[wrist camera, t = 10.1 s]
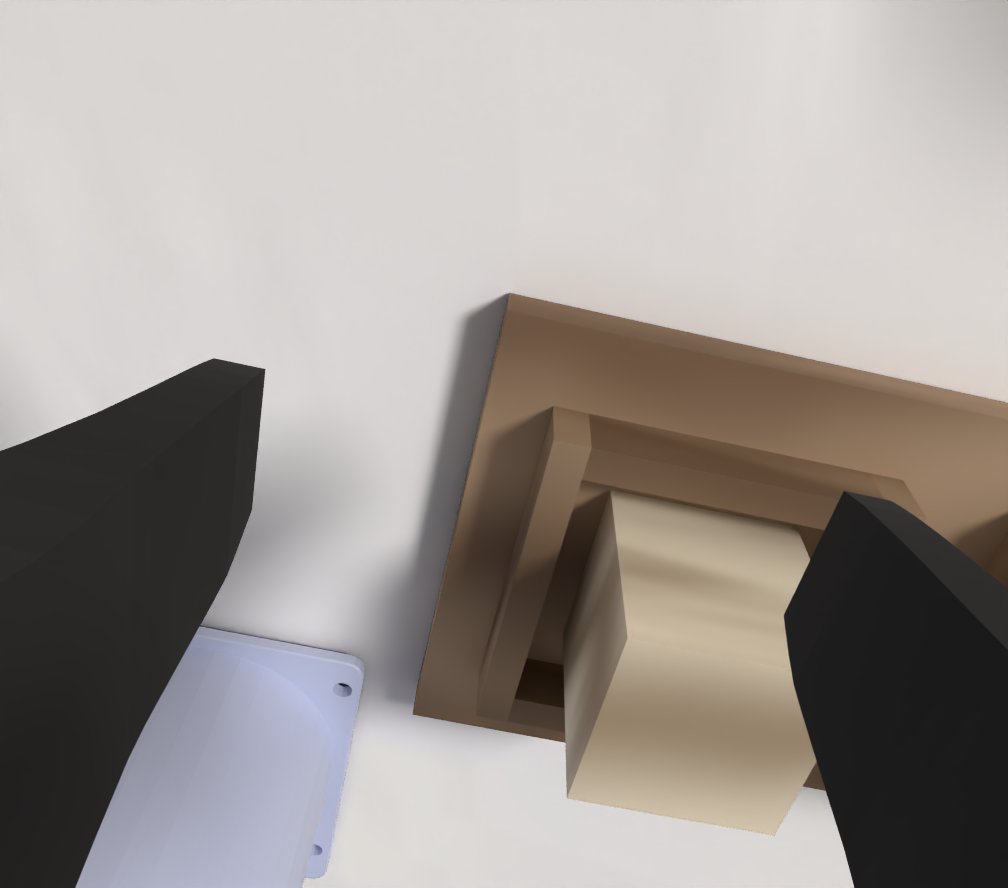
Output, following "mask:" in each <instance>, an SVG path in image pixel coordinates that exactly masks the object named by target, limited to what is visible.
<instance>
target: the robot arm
mask: <svg viewBox="0 0 1008 888" xmlns="http://www.w3.org/2000/svg"><path fill="white" fill-rule="evenodd" d="M264 377H265V369H262V368H257V367H252V366H248V365H243V364H238V363H233V362H228V361H224V360H219V359H211V360H209V361H206V362H203V363H201V364H199V365H197V366H194V367H192V368H190V369H188V370H186V371H184V372H182V373H180V374H178V375H176V376H173V377H171V378H169V379H167V380H165V381H163V382H161V383H159V384H157V385H155V386H153V387H151V388H149V389H147V390H145V391H142V392H140V393H138V394H136V395H134V396H132V397H130V398H128V399H125V400H123V401H121V402H119V403H117V404H115V405H113V406H111V407H108V408H106V409H104V410H102V411H100V412H98V413H95V414H93V415H90V416H88V417H85V418H83V419H81V420H78V421H76V422H73V423H71V424H68V425H66V426H63V427H61V428H59V429H56V430H54V431H51V432H49V433H46V434H44V435H41V436H39V437H37V438H34V439H32V440H29V441H27V442H24V443H22V444H19V445H16V446H13V447H11V448H8V449H5V450H2V451H0V888H302V886H303V882H304V878H312V879H315V878H319V877H321V876H323V875H325V873H326V871H327V867H328V862H329V857H330V852H331V847H332V841H333V836H334V831H335V826H336V821H337V815H338V810H339V805H340V800H341V795H342V789H343V784H344V779H345V774H346V769H347V763H348V758H349V753H350V748H351V743H352V737H353V732H354V727H355V722H356V717H357V711H358V706H359V701H360V696H361V691H362V685H363V680H364V675H365V665H364V664H363V662H362V661H361V660H360V659H358V658H357V657H355V656H352V655H349V654H344V653H338V652H333V651H328V650H322V649H317V648H312V647H307V646H301V645H296V644H291V643H285V642H280V641H275V640H269V639H264V638H259V637H253V636H248V635H243V634H237V633H232V632H227V631H221V630H216V629H211V628H206V627H200V625H201V623H202V621H203V619H204V617H205V615H206V614H207V612H208V610H209V608H210V606H211V604H212V603H213V601H214V599H215V597H216V595H217V593H218V591H219V590H220V588H221V586H222V584H223V582H224V580H225V578H226V576H227V574H228V571H229V569H230V566H231V564H232V561H233V559H234V556H235V553H236V551H237V548H238V546H239V543H240V540H241V538H242V535H243V532H244V529H245V527H246V524H247V521H248V519H249V516H250V513H251V510H252V502H253V492H254V481H255V471H256V460H257V450H258V440H259V429H260V419H261V408H262V398H263V388H264ZM784 623H785V631H786V639H787V646H788V654H789V660H790V666H791V672H792V678H793V684H794V688H795V691H796V695H797V698H798V702H799V705H800V709H801V712H802V715H803V719H804V722H805V725H806V729H807V732H808V735H809V738H810V742H811V745H812V748H813V751H814V754H815V758H816V761H817V764H818V767H819V770H820V774H821V777H822V780H823V783H824V786H825V789H826V793H827V796H828V799H829V802H830V805H831V808H832V812H833V815H834V818H835V821H836V824H837V828H838V831H839V834H840V837H841V840H842V843H843V847H844V850H845V854H846V857H847V861H848V865H849V869H850V873H851V876H852V880H853V884H854V888H1008V588H1007V587H1005V586H1004V585H1003V584H1002V583H1000V582H999V581H998V580H997V579H995V578H994V577H993V576H992V575H990V574H989V573H988V572H987V571H985V570H984V569H983V568H982V567H980V566H979V565H978V564H977V563H975V562H974V561H973V560H972V559H970V558H969V557H968V556H967V555H965V554H964V553H963V552H962V551H960V550H959V549H958V548H957V547H955V546H954V545H953V544H952V543H950V542H949V541H948V540H946V539H945V538H944V537H943V536H941V535H940V534H939V533H937V532H936V531H935V530H933V529H932V528H931V527H929V526H928V525H927V524H925V523H924V522H923V521H921V520H920V519H919V518H917V517H916V516H914V515H913V514H911V513H910V512H908V511H907V510H905V509H904V508H902V507H901V506H899V505H897V504H896V503H894V502H892V501H890V500H886V499H881V498H876V497H871V496H867V495H862V494H857V493H852V492H848V491H843V493H842V495H841V498H840V500H839V502H838V504H837V506H836V508H835V510H834V512H833V514H832V516H831V518H830V520H829V522H828V524H827V526H826V529H825V531H824V533H823V535H822V537H821V539H820V541H819V543H818V545H817V547H816V549H815V551H814V553H813V555H812V557H811V560H810V562H809V564H808V566H807V568H806V570H805V572H804V574H803V576H802V578H801V580H800V582H799V584H798V586H797V588H796V591H795V593H794V595H793V597H792V599H791V601H790V603H789V605H788V607H787V609H786V611H785V613H784ZM338 683H345V684H347V685H349V687H344V686H341V685H339V684H338Z"/></svg>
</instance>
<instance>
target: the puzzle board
mask: <svg viewBox="0 0 1008 888" xmlns="http://www.w3.org/2000/svg"><path fill="white" fill-rule="evenodd" d="M843 491H848V492H852V493H857V494H862V495H867V496H871V497H876V498H881V499H886V500H890V501H892V502H894V503H896V504H897V505H899V506H901V507H902V508H904V509H905V510H907V511H908V512H910V513H911V514H913V515H914V516H916V517H917V518H919V519H920V520H921V521H923V522H924V523H925V524H927V525H928V526H929V527H931V528H932V529H933V530H935V531H936V532H937V533H939V534H940V535H941V536H943V537H944V538H945V539H946V540H948V541H949V542H950V543H952V544H953V545H954V546H955V547H957V548H958V549H959V550H960V551H962V552H963V553H964V554H965V555H967V556H968V557H969V558H970V559H972V560H973V561H974V562H975V563H977V564H978V565H979V566H980V567H982V568H983V569H984V570H985V571H987V572H988V573H989V574H990V575H992V576H993V577H994V578H995V579H997V580H998V581H999V582H1000V583H1002V584H1003V585H1004V586H1005V587H1007V588H1008V403H1006V402H1001V401H997V400H992V399H988V398H983V397H979V396H974V395H969V394H965V393H960V392H956V391H951V390H947V389H942V388H938V387H933V386H929V385H924V384H920V383H915V382H911V381H906V380H901V379H897V378H892V377H888V376H883V375H879V374H874V373H870V372H865V371H861V370H856V369H852V368H847V367H843V366H838V365H833V364H829V363H824V362H820V361H815V360H811V359H806V358H802V357H797V356H793V355H788V354H784V353H779V352H775V351H770V350H765V349H761V348H756V347H752V346H747V345H743V344H738V343H734V342H729V341H725V340H720V339H716V338H711V337H707V336H702V335H697V334H693V333H688V332H684V331H679V330H675V329H670V328H666V327H661V326H657V325H652V324H648V323H643V322H639V321H634V320H629V319H625V318H620V317H616V316H611V315H607V314H602V313H598V312H593V311H589V310H584V309H580V308H575V307H571V306H566V305H561V304H557V303H552V302H548V301H543V300H539V299H534V298H530V297H525V296H521V295H516V294H512V293H509V296H508V300H507V305H506V309H505V313H504V318H503V322H502V326H501V330H500V335H499V339H498V343H497V347H496V352H495V356H494V360H493V365H492V369H491V373H490V377H489V382H488V386H487V390H486V395H485V399H484V403H483V407H482V412H481V416H480V420H479V424H478V429H477V433H476V437H475V442H474V446H473V450H472V454H471V459H470V463H469V467H468V472H467V476H466V480H465V484H464V489H463V493H462V497H461V501H460V506H459V510H458V514H457V519H456V523H455V527H454V531H453V536H452V540H451V544H450V549H449V553H448V557H447V561H446V566H445V570H444V574H443V579H442V583H441V587H440V591H439V596H438V600H437V604H436V608H435V613H434V617H433V621H432V626H431V630H430V634H429V638H428V643H427V647H426V651H425V656H424V660H423V664H422V668H421V673H420V677H419V681H418V685H417V691H416V697H415V703H414V709H413V715H418V716H424V717H429V718H435V719H440V720H446V721H451V722H456V723H462V724H467V725H473V726H478V727H484V728H489V729H494V730H500V731H505V732H511V733H516V734H522V735H527V736H532V737H538V738H543V739H549V740H554V741H560V742H565V743H566V781H567V799H573V800H578V801H584V802H589V803H595V804H601V805H606V806H612V807H617V808H623V809H628V810H634V811H640V812H645V813H651V814H656V815H662V816H667V817H673V818H679V819H684V820H690V821H695V822H701V823H706V824H712V825H718V826H723V827H729V828H734V829H740V830H745V831H751V832H757V833H762V834H768V835H773V836H775V834H776V832H777V830H778V829H779V827H780V825H781V823H782V822H783V820H784V818H785V816H786V814H787V813H788V811H789V809H790V807H791V806H792V804H793V802H794V800H795V799H796V797H797V795H798V793H799V792H800V790H801V788H802V786H804V787H809V788H815V789H820V790H826V789H825V786H824V783H823V780H822V777H821V774H820V770H819V767H818V764H817V761H816V758H815V754H814V751H813V748H812V745H811V742H810V738H809V735H808V732H807V729H806V725H805V722H804V719H803V715H802V712H801V709H800V705H799V702H798V698H797V695H796V691H795V688H794V684H793V678H792V672H791V666H790V660H789V654H788V646H787V639H786V631H785V623H784V613H785V611H786V609H787V607H788V605H789V603H790V601H791V599H792V597H793V595H794V593H795V591H796V588H797V586H798V584H799V582H800V580H801V578H802V576H803V574H804V572H805V570H806V568H807V566H808V564H809V562H810V560H811V557H812V555H813V553H814V551H815V549H816V547H817V545H818V543H819V541H820V539H821V537H822V535H823V533H824V531H825V529H826V526H827V524H828V522H829V520H830V518H831V516H832V514H833V512H834V510H835V508H836V506H837V504H838V502H839V500H840V498H841V495H842V493H843Z"/></svg>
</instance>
